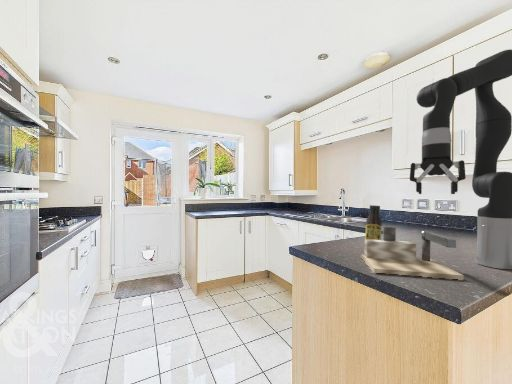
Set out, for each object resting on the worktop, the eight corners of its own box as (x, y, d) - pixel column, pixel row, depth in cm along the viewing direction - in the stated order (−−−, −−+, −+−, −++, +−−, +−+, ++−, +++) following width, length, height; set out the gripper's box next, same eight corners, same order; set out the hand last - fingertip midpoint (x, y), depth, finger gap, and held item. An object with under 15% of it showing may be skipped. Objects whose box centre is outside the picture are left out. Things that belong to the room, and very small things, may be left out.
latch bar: (419, 237, 86) (419, 230, 86) (428, 237, 85) (428, 231, 85) (446, 247, 70) (446, 239, 70) (457, 248, 69) (458, 239, 69)
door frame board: (430, 262, 87) (431, 228, 87) (463, 280, 69) (464, 237, 69) (360, 257, 91) (361, 225, 91) (374, 273, 74) (374, 233, 74)
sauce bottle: (364, 251, 102) (364, 205, 102) (365, 248, 108) (365, 204, 108) (381, 253, 99) (382, 205, 99) (381, 250, 105) (382, 205, 105)
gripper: (461, 144, 77) (461, 194, 76) (409, 148, 84) (409, 194, 84) (467, 139, 70) (467, 194, 70) (410, 144, 77) (410, 194, 77)
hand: (435, 194), depth 77 cm, fingers open, 8 cm apart
